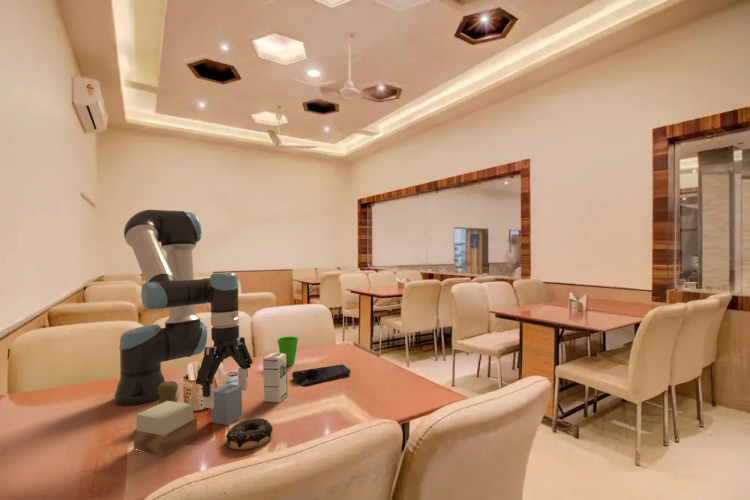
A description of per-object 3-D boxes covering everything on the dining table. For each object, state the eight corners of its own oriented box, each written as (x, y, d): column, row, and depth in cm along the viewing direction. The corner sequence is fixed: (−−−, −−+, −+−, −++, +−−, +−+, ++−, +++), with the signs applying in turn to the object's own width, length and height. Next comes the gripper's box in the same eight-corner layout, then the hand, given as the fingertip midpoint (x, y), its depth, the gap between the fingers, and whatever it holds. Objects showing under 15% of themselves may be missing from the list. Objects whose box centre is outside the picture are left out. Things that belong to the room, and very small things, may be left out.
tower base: (134, 450, 93) (133, 430, 93) (168, 432, 102) (168, 413, 102) (163, 457, 89) (163, 436, 89) (196, 437, 99) (196, 418, 99)
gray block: (210, 422, 107) (210, 390, 107) (226, 413, 113) (225, 383, 113) (227, 425, 105) (227, 393, 105) (242, 416, 111) (241, 385, 110)
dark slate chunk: (355, 378, 143) (355, 366, 143) (299, 389, 133) (299, 375, 133) (340, 367, 156) (340, 356, 156) (288, 376, 146) (288, 364, 146)
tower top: (136, 430, 93) (136, 414, 93) (167, 415, 101) (167, 400, 101) (163, 435, 90) (163, 419, 90) (193, 419, 98) (193, 404, 98)
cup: (276, 362, 163) (276, 337, 163) (297, 360, 165) (297, 335, 165) (277, 368, 154) (277, 342, 154) (300, 366, 157) (299, 340, 157)
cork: (174, 413, 113) (174, 377, 113) (183, 418, 109) (183, 381, 109) (153, 420, 108) (152, 383, 108) (161, 426, 104) (160, 387, 104)
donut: (281, 439, 97) (281, 423, 97) (238, 458, 88) (238, 441, 88) (258, 426, 105) (258, 411, 105) (217, 442, 96) (217, 427, 96)
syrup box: (280, 402, 120) (279, 357, 120) (263, 401, 121) (262, 357, 121) (287, 395, 125) (287, 352, 125) (271, 394, 126) (270, 352, 126)
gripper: (201, 335, 96) (203, 417, 95) (262, 318, 119) (264, 384, 119) (179, 333, 98) (181, 414, 98) (243, 317, 122) (245, 382, 121)
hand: (227, 398), depth 108 cm, fingers open, 13 cm apart
